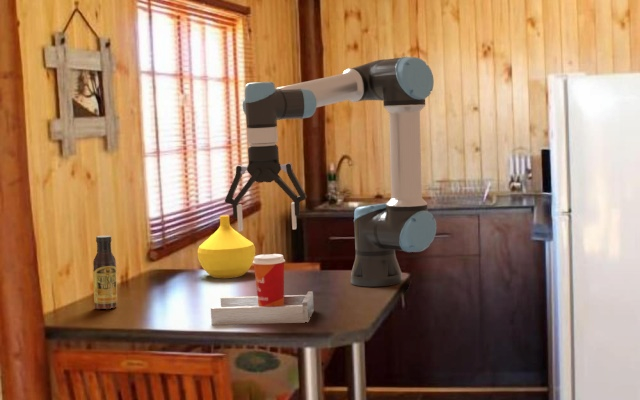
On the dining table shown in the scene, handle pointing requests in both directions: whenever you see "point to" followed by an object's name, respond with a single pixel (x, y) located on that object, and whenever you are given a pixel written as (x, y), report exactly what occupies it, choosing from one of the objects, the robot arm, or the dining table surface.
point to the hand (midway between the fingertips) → (267, 229)
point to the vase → (226, 252)
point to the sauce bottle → (104, 275)
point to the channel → (263, 310)
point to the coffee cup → (269, 279)
